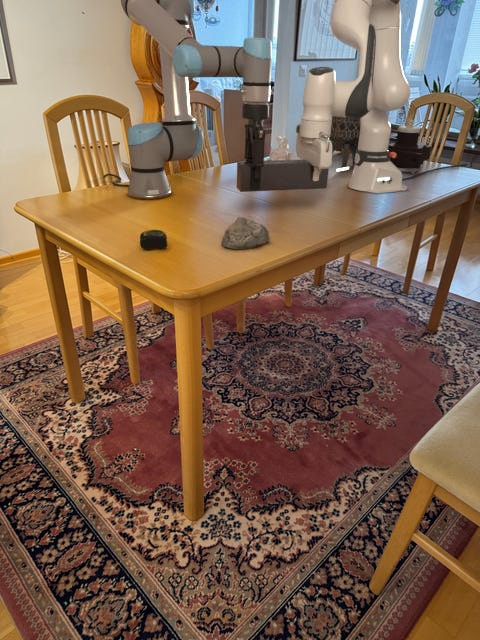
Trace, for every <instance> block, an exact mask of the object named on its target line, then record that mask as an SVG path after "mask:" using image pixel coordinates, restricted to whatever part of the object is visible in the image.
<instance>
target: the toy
mask: <svg viewBox="0 0 480 640" xmlns="http://www.w3.org/2000/svg"><path fill="white" fill-rule="evenodd" d="M335 151H336V152H340V153H342V147H340V148H338V149H336V150H335ZM348 155H352V153H351V151H350V150H349V152H348Z"/></svg>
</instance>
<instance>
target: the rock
mask: <svg viewBox="0 0 480 640" xmlns="http://www.w3.org/2000/svg"><path fill="white" fill-rule="evenodd" d="M269 241H270V233H269V230H268V229H267V228H266V226H265V225H263V224H261V223H259V222H256V221H255V220H252V219H247V218H245V217H241V216H238V217H237V218H236V219H235V221H234V222H233V223H232V224H231V225H229V226H228V227H227V228H226V229H225V231H224V233H223V236H222V239H221V244H222V247H224V248H229V249H231V250H245V249H254V248H257V247H259V246H260V245H264V244H266V242H269Z"/></svg>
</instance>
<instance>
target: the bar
mask: <svg viewBox="0 0 480 640" xmlns="http://www.w3.org/2000/svg"><path fill="white" fill-rule="evenodd" d="M266 160H267V159H266ZM266 160H264V166H263V167H261V180H260V190H252V191H251V168H250V166H252V165H253V162H252V161H246V160H237V161H236V189H237V190H238V191H239V192H240V193H249V192H272V191H274V192H275V191H277V192H278V191H295V190H296V191H299V190H322V189H323V190H324V189H327V188H328V187H327V186H328V180H329V170H330V168H329V169H322V171H321V173H320V175H319V180H318V181H313V180H312V174H313V172H314V166H313V165H311V164H310V162H308V161H306V160H302V159H287V160H267V161H266ZM258 163H259V162H258Z"/></svg>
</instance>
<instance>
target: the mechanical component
mask: <svg viewBox="0 0 480 640" xmlns="http://www.w3.org/2000/svg"><path fill="white" fill-rule="evenodd" d="M414 124H415V119H407V121H406V125H399V126H398V127H397V133H396V139H395V142H393V143H392V142H391V143H389V145H388V151H390V152H395V154H397V156H396V157H395V158H392V157H390V161H391V162H392V163H393V164H394V165H395V166H396V167H397V168H398V169H399V170H400V171H401V172H410V174H415V173H416V171H419V170H420V169H421V168H423V166H424V162H425V161H428V160H430V157H431V154H432V148H433V146H432V145H429V144H427V143H425V142H420V141H419V137H420V133H421V129H422V128H421V127H420V126H416V125H414Z"/></svg>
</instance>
